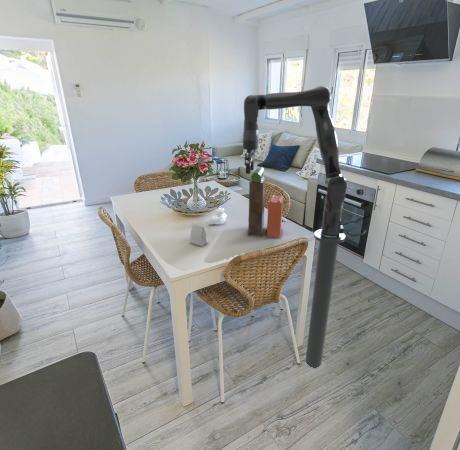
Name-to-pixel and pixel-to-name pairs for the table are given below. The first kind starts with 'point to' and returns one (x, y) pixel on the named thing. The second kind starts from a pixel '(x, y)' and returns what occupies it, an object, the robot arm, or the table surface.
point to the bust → (218, 217)
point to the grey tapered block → (198, 235)
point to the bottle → (257, 174)
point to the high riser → (256, 207)
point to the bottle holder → (274, 216)
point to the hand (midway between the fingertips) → (249, 171)
